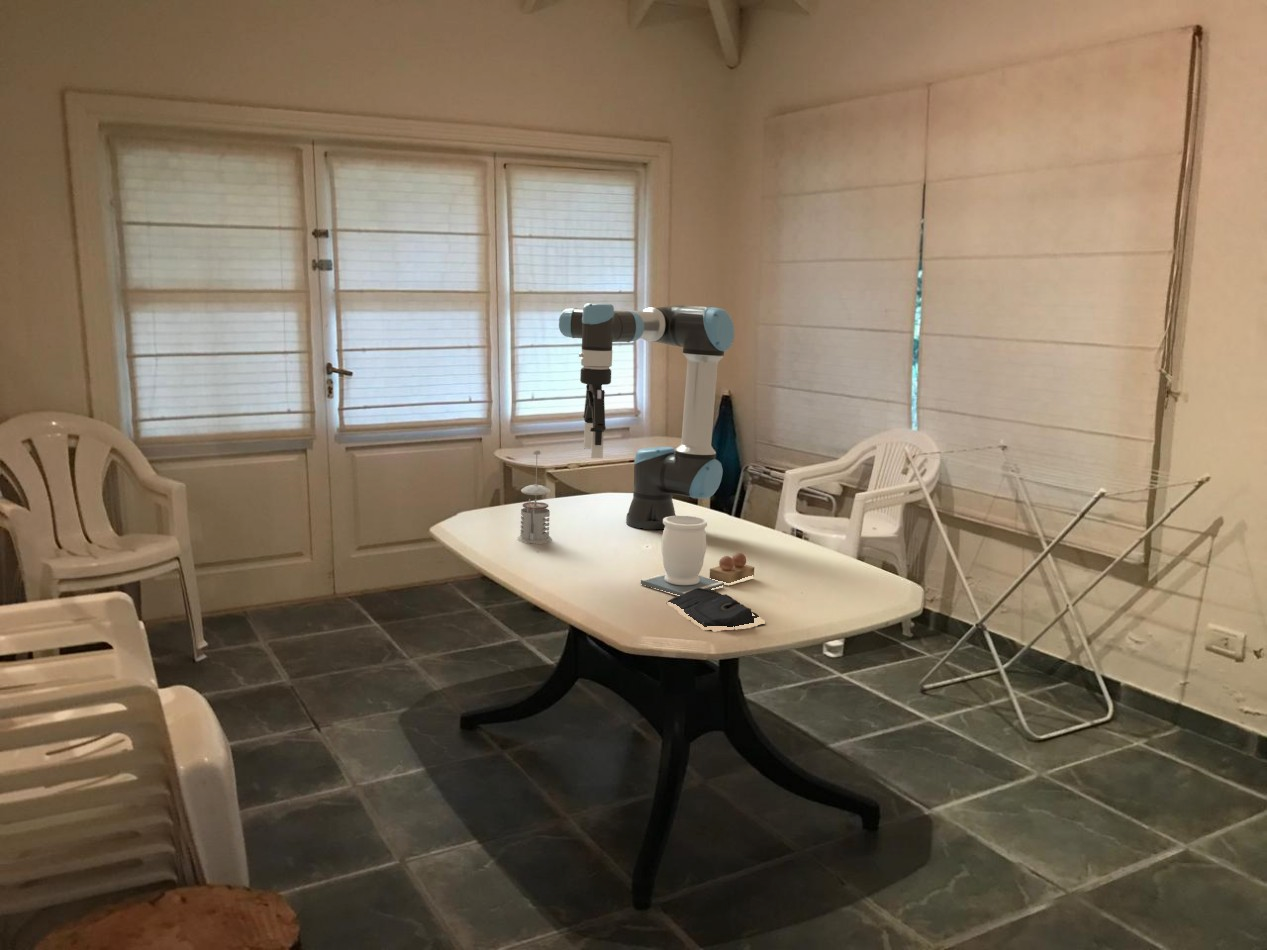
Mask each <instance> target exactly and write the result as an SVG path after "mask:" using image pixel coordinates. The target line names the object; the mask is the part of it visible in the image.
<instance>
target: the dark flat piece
mask: <svg viewBox="0 0 1267 950" xmlns="http://www.w3.org/2000/svg"><path fill="white" fill-rule="evenodd" d="M668 602H671V603H673V604H676V605H677V606H679V607H680V608H681V609H684V612H685V613H686V614H689V615H688V616H690V617H692V618H693V619H694V620H696V621H697V622H698V623H700V624H702V625H703V626H704V627H707V626H727V627H733V626H734V627H735V626H739V625H744V624H749V623H754V618H757V617H759V616H760V615H758V614H757V613H755V612H753V611H752V608H749V607H747V606H745V605H744V604H742V603H741V602H739V601H737V600H736V599H735V598H733V597H731V596H730V595H729V594H726V593H725V594H722V593H720V592H719V591H717V590H715V591H714V590H711V589H702V588H697V589H694V590H691V591H689V592H686V593H685V594H683V595H681V596H674V597H672V598H670V599H669V600H668ZM752 613H753V614H754V615H755V616H752Z"/></svg>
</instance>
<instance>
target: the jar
mask: <svg viewBox="0 0 1267 950" xmlns="http://www.w3.org/2000/svg"><path fill="white" fill-rule="evenodd" d="M663 524H664V525H665V528H664V530H663V532H662V534H661V535H662V536H661V555H662V563H663V568H664V571H665V573H667V574H666V575H665V577H664V580H665V581H666V582H668V583H671V584H675V585H685V586H687V585H695V584H697V583H699V582H700V579H699V577H698V576H699V574H700V572H701V571H702V568H703V565H704V559H705V556H706V550H707V534H706V529H705V528H706V527H708V521H707V520H706V519H703V518H701V517H697V516H690V515H676V516H669V517H665V518H663Z"/></svg>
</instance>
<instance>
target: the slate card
mask: <svg viewBox="0 0 1267 950" xmlns="http://www.w3.org/2000/svg"><path fill="white" fill-rule="evenodd" d="M666 574H667V573H666V572H665V573H664V572H663V573H661V574H658V575H653V576H649V577H647V578H646V577H645V578H641V580H640V585H641V584H642V585H641V586H643V585H646V586H649V587H652V588H656V589H659V590H663V591H666V592H670V593H673V594H677V595H680V596H681V595H683V594H685V593H686V592H689V591H691V590H694V589H697V588H702V589H712V588H716V587H719V586H722V585H724V583H723V582H718V581H715V580H712V579H710V578H707V577H704V576H702V575H698V577H699V579H700V582H699V583H697V584H695V585H687V586H685V585H675V584H671V583H668V582H666V581H665V580H664V577H665V575H666ZM646 586H645V587H646ZM724 586H725V585H724ZM649 587H648V588H649ZM652 588H651V589H652Z"/></svg>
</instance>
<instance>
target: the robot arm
mask: <svg viewBox="0 0 1267 950" xmlns="http://www.w3.org/2000/svg"><path fill="white" fill-rule="evenodd" d="M558 329H559V331H560V333H561V335H562V336H564V337H566V338H572V339H581V352H579V354H578V357H579V358H581V359H580V364H581V366H582V367H581V368H580V379H579V381H580V383H581V384H584V385H586V391H585V400H584V401H585V402H584V412H583V415H582V416H583V419H584V433H583V436H584V438H583V448H584V449H587V450H589V449H591V453H590V458H591V459H603V456H604V451H603V450H604V436H605V432H604V431H606V429H607V427H606V414H605V413H606V411H605V410H606V408H605V395H606V392H605V390H604V389H603V387H602V386H603V385H605V386H607V385H610V384H611V383H612V369H611V367H612V365H613V343H631V342H636V341H637V340H639V339H643V340H644V341H645V342H648V343H649V342H650V343H660V344H665V345H669V346H674V347H682V355H683V356H684V357H685V358H686V360H687V362H686V375H685V376H686V378H685V386H684V387H685V390H684V391H685V392H684V403H683V415H682V417H683V418H682V427H681V429H682V430H681V442H680V444H679V446H677V447H676V448H675V447H673V446H653V447H643V448H640V449H638V450H637V451H636V452H635V456H634V463H633V465H634V466H633V467H634V468H633V470H634V472H633V491H632V493H633V494H632V495H633V497H632V500H631V502H630V506H629V509H628V512H627V514H626V516H625V517H626V518H625V523H626V525H628V526H629V527H632V528H635V527H636V528H635V529H640V528H643V529H642V530H649V529H664V528H665V525H664V524H663V518H665V517H669V516H677V515H676V511H675V506H674V503H673V502H674V501H673V495H679V496H683V497H690V498H692V499H703V500H705V499H708V498H709V499H710V498H711V497H712V496H714V494H715V493H716V492H717V490H718V489H719V488H720V484H721V482H722V479H723V478H722V477H723V472H724V471H723V470H724V469H723V467H722V463H721V461H719V460H718V459H716V455H717V452H716V450H715V449H714V448H713V447H712V439H713V427H714V425H713V424H714V417H715V416H714V412H715V401H716V400H715V399H716V389H717V380H718V379H717V377H718V364H719V362H720V361H721V360H722V359H723V358H724V356H725V351H728V350H729V349H730V348H731V347H732V344H733V342H734V340H735V339H734V338H735V327H734V323H733V319H732V317H731V316H730V314H729V313H728V312H727V311H726V310H725V309H723V308H720V307H719V308H718V307H712V306H694V305H669V306H659V307H647V308H645V309H643V310H629V309H627V310H626V309H625V310H623V309H615V308H614V305H613V304H611V303H595V302H587V303H585V304H584V305H583V307H582V308H577V307H574V308H565V309H564V310H563V311H562V312H561V313H560V315H559V318H558Z"/></svg>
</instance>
